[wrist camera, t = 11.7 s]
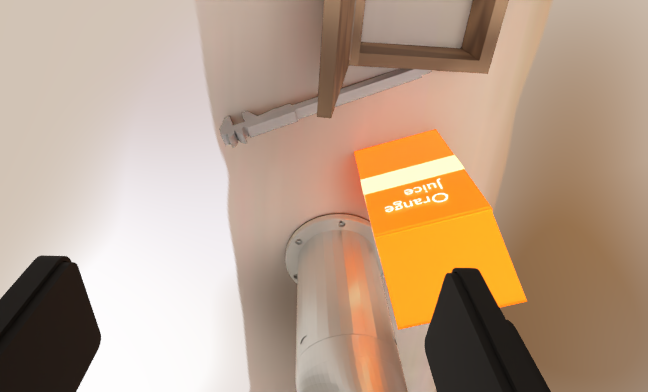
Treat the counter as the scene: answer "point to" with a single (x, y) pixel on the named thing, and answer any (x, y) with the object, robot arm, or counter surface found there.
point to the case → (399, 47)
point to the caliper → (310, 106)
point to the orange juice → (430, 225)
